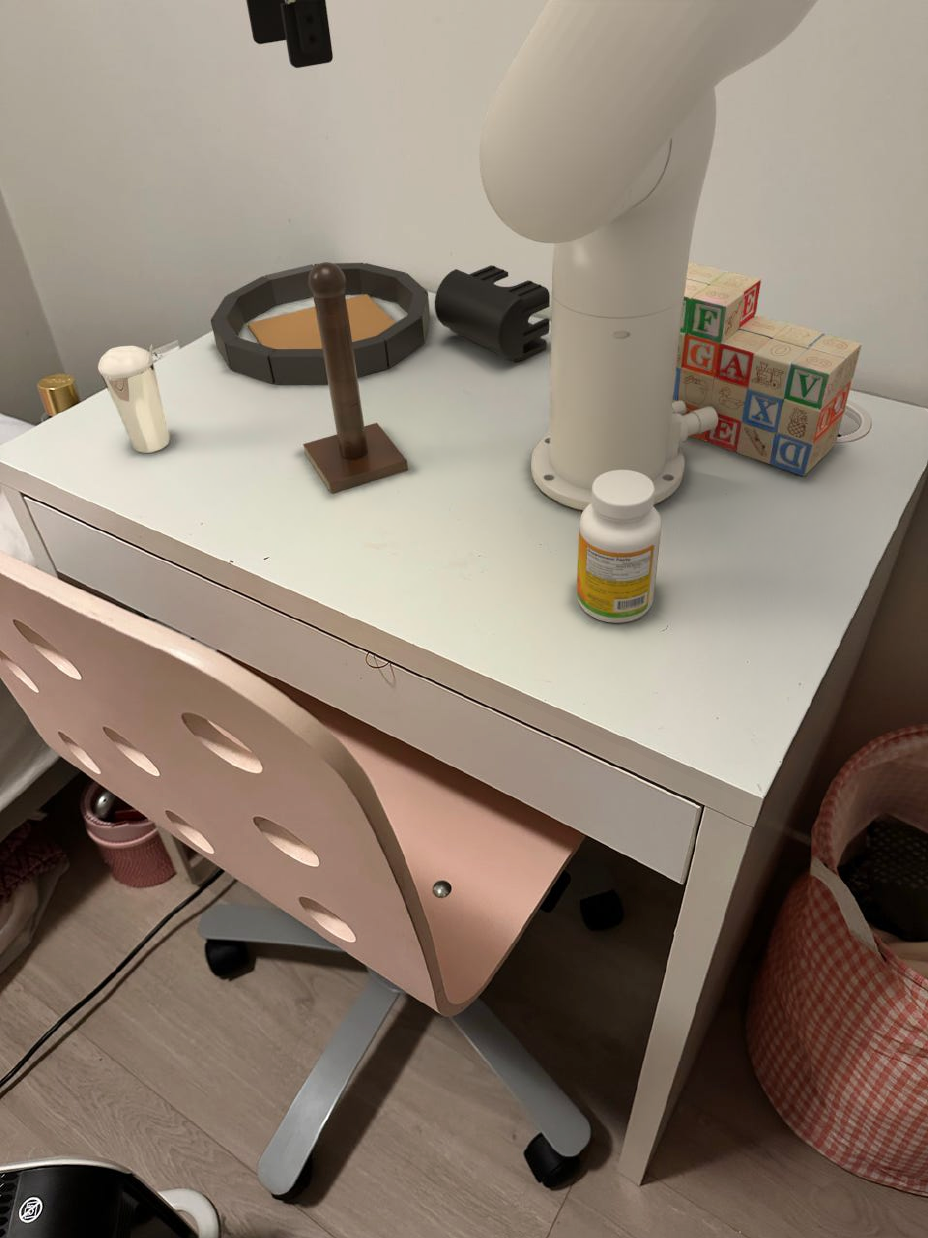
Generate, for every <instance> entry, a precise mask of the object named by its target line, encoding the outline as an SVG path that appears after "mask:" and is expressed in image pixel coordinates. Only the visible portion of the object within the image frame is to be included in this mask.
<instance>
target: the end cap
mask: <svg viewBox="0 0 928 1238" xmlns="http://www.w3.org/2000/svg"><path fill="white" fill-rule="evenodd" d="M506 278H509V271H507V270H505V269H503V268H500V267H497V266H496V265H492V264H491V265H488V266H486V267H483V268H480V269H478V270H476V271H473V272H470V273H466V272H464V271H462V270H459V269H457V268H455V269H453V270H451V271H450V272H448V273H447V274H446V275H445V276H444V278H443V279H442V281H441V282H440V283H439V285H438V287H437V290H436V293H435V295H434V296H435V297H434V312H435V315H436V318H437V320H438V321H439V323H440V324H441V325H442V326H443V327H445V328H447V329H449V330H450V331H451V332H453V333H455V334H457V335H460V336H461V337H463V338H465V339H468V340H470V341H471V342H474V343H476V344H477V345H480V346H482V347H484V348H485V349H487V350H490V351H491V352H494V353H496V354H498V355H500V356H502V357H504V358H506V359H508V360H510V361H512V362H521V361H524V360H526V359H528V358H530V357H532V356H534V355H536V354H538V353H540V352H542V351H545V350H546V349H547V347H548V341H547V340H546V339H544V338H542V337H544V336H547V335H548V334H549V333H550V318H548V317H545V318H544V319H541V320H539V321H536V322H534V323H531V322H529V320H530V318H531V317H532V315H535V314H537V313H539V312H541V311H543V310H546V309H548V308H550V307H551V306H550V305H551V304H550V301H551V296H550V294H551V293H550V291H549V289H548V288H547V287H546V286H544V285H542V284H539V283H536V282H533V281H532V280H525V281H524V282H521V283H518V284H515V285H511V286H501V285H497V284H495V283H497V282H499V281H501V280H503V279H506Z"/></svg>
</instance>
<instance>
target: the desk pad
mask: <svg viewBox="0 0 928 1238" xmlns="http://www.w3.org/2000/svg"><path fill="white" fill-rule="evenodd" d="M346 303H347V310H348V317H349V324H350V331H351V337H352V342H355V341H358V340H362V339H366V338H370V337H374V336H377V335H378V334H380V333H381V332H383V331H384V330H386V329H387V328H389V327H390V326H392V325H393V324H395V323H396V322H395V321H394V320H393V319H392V318H391V317H390V316H389V315H388V314H387V313H386V311H384V310H383V309H382V308H381V307H380V305H378V304H377V303H376V301H374V299H372V298H371V296H368V295H367V294H365V295H364V294H360V295H357V296H353V297H349V298H346ZM247 327H248V329H249V330H250V332H251V333H252V334H253V336H254V337H255V338H256V340H257V341H258V344H261V345H264V346H267V347H271V348H274V349H322V344H321V338H320V332H319V326H318V320H317V314H316V308H315V306H313V307H309V308H304V309H300V310H296V311H293V312H288V313H284V314H280V315H276V316H272V317H267V318H264V319H260V320H255V321H251V322H248V323H247Z"/></svg>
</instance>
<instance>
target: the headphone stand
mask: <svg viewBox="0 0 928 1238" xmlns="http://www.w3.org/2000/svg"><path fill="white" fill-rule="evenodd" d="M317 264H318V265H316V266H315V267H314V268H313V269H312V270H311V272H310V275H309V281H308V282H309V288H310V290H311V292H312V293H313V296H312V297H313V302H314V307H315V308H316V314H317V320H318V326H319V332H320V338H321V344H322V349H323V355H324V361H325V367H326V373H327V379H328V384H327V385H328V391H329V396H330V402H331V407H332V414H333V419H334V420H333V421H334V426H335V431H336V433H335V434H333V435H330V436H326V437H323V438H319V439H316V440H312V441H309V442H306V443H303V444H302V445H303V451H304V455H306V457H307V459H308V460H309V462H310V464H311V465H312V466H313V468H314V470H315V471H316V473H317V474H318V476H319V478H320V479H321V480H322V482H323V484H324V485H325V487H326V488H327V490H328V491H329V492H330V494H335V493H337V492H341V491H344V490H348V489H350V488H353V487H357V486H360V485H363V484H367V483H370V482H372V481H377V480H379V479H384V478H387V477H389V476H392V475H396V474H399V473H402V472H406V471H408V470H409V468H408V467H409V466H408V460H407V459H406V457H405V456H404V454H402V452H401V451H400V449H399V448H398V447H397V446H396V445H395V443H394V442H393V441H392V440H391V438H390V437H389V436H388V434H387V433H386V432H385V430H383V428H382V427H381V426H380V425H379V423H377V422H375V423H371V424H368V425H365V420H364V413H363V407H362V399H361V392H360V387H359V380H358V379H359V378H358V377H357V372H356V365H355V358H354V351H353V344H352V337H351V331H350V324H349V317H348V310H347V303H346V299H347V298H346V296H347V295H346V294H345V287H346V279H345V275H344V273H343V271H342V270H341V269H340V268H339V267H338V266H337V265H335V264H333V262H329V261H325V262H324V261H323V262H320V263H317Z"/></svg>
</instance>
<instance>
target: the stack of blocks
mask: <svg viewBox="0 0 928 1238" xmlns="http://www.w3.org/2000/svg"><path fill="white" fill-rule="evenodd" d="M761 283H762V281H761V278H757V277H752V276H749V275H744V274H740V273H737V272H733V271H726V270H723V269H720V268H715V267H710V266H707V265H704V264H698V263H697V264H696V263H692V262H688V270H687V279H686V288H685V294H684V302H683V311H682V320H681V329H680V337H679V346H678V355H677V364H676V373H675V382H674V391H673V400H672V402H675V401H679V400H681V401H683V402H684V403H685V405H686V414H689V413H690V412H692V411H695V410H698V409H701V408H704V407H708V406H710V407H713V408H714V409H715V411H716V413H717V415H718V425H717V427H716V428H714V429H711V430H708V431H705V432H702V433H699V434H692V435H689V436H688V437H693V438H696V439H698V440H701V441H705V442H708V443H710V444H713V445H716V446H718V447H721V448H724V449H727V450H730V451H732V452H737V453H738V454H740V455H743V456H746V457H749V458H752V459H754V460H756V461H757V460H758V461H760V462H763V463H766V464H770V465H771V466H773V467H776V468H780V469H782V470H785V471H788V472H791V473H793V474H797V475H799V476H802V477H803V476H806V475H807V474H808V473H809V472H810V471H811V470H812V469H813V467H815V466H816V465H817V464H818V462H820V460H822V459H823V458H824V457H826V455H827V454H828V453H829V452H830V451H831V450H832V449H833V448H834V446H835V445H836V444H837V441H838V438H839V433H840V429H841V425H842V424H841V423H842V420H843V414H844V413H845V412H846V411H845V410H846V406H847V402H848V397H849V394H850V390H851V384H852V379H854V376H855V372H856V368H857V364H858V361H859V356H860V353H861V349H862V343H861V342H859V341H855V340H851V339H847V338H843V337H839V336H835V335H832V334H825V332H823V331H819V330H816V329H811V328H807V327H804V326H800V325H796V324H793V323H788V322H785V321H781V320H777V319H773V318H771V317H766V316H761V315H759V316H757V315H756V314H757V309H758V303H759V302H758V300H759V296H760V295H759V294H760V289H761ZM755 315H756V316H755ZM686 414H685V415H686Z"/></svg>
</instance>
